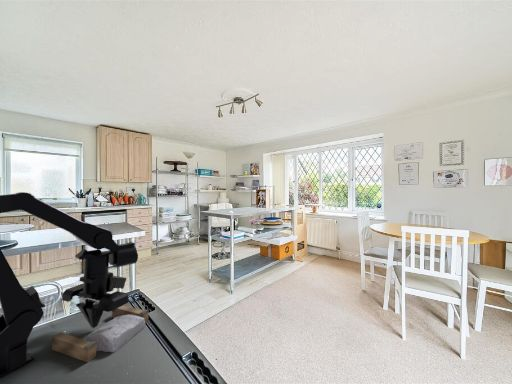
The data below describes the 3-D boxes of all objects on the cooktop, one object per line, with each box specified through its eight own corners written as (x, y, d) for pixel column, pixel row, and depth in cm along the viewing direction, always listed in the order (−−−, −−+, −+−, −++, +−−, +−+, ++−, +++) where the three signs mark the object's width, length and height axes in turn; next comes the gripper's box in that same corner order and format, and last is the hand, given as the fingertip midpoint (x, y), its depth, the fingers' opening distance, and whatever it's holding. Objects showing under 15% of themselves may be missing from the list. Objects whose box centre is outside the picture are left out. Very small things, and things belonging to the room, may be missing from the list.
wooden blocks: (51, 349, 55) (52, 335, 55) (117, 313, 72) (118, 302, 72) (87, 362, 51) (87, 347, 51) (148, 321, 68) (148, 310, 68)
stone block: (81, 356, 55) (115, 354, 54) (79, 336, 56) (113, 333, 54) (119, 330, 67) (148, 328, 65) (117, 314, 68) (146, 311, 66)
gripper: (144, 267, 68) (143, 318, 68) (100, 260, 74) (98, 307, 73) (110, 280, 57) (108, 341, 57) (62, 270, 63) (59, 326, 63)
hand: (94, 327), depth 63 cm, fingers closed
